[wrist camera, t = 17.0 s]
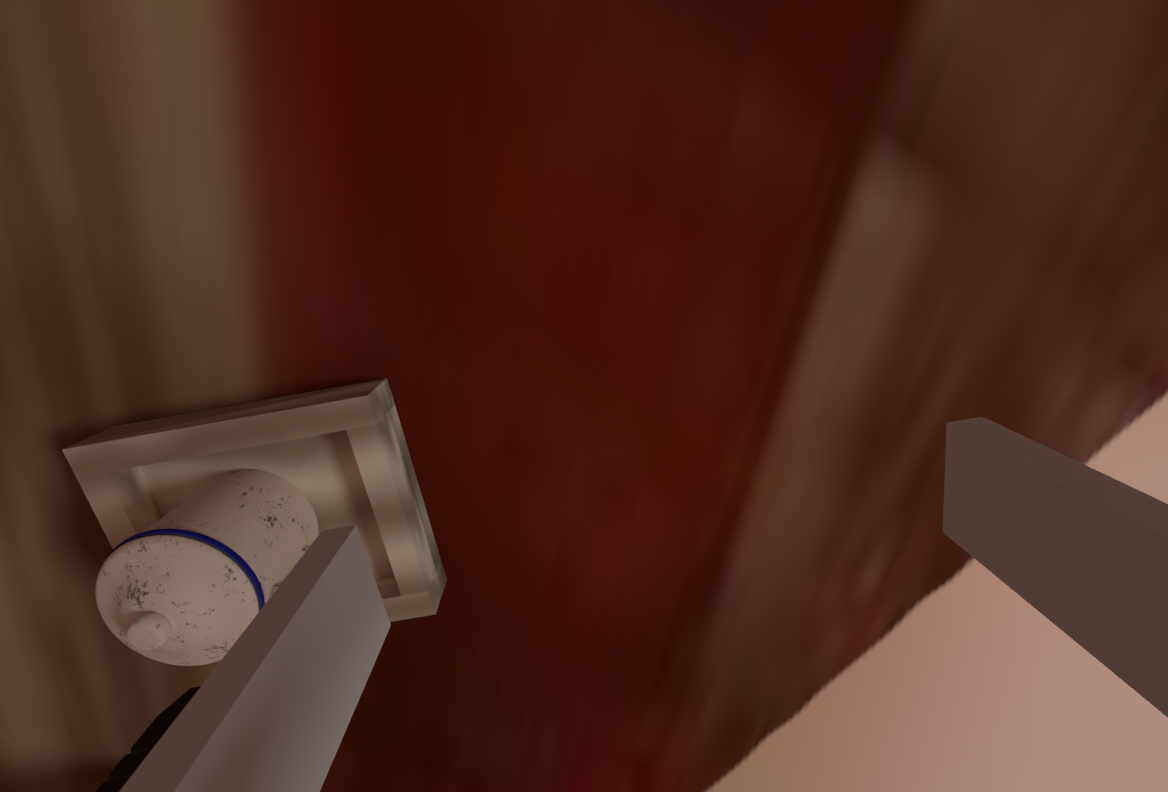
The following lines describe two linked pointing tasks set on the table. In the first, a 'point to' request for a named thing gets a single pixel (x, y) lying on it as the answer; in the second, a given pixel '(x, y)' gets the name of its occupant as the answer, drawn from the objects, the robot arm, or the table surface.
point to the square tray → (281, 476)
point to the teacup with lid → (205, 568)
